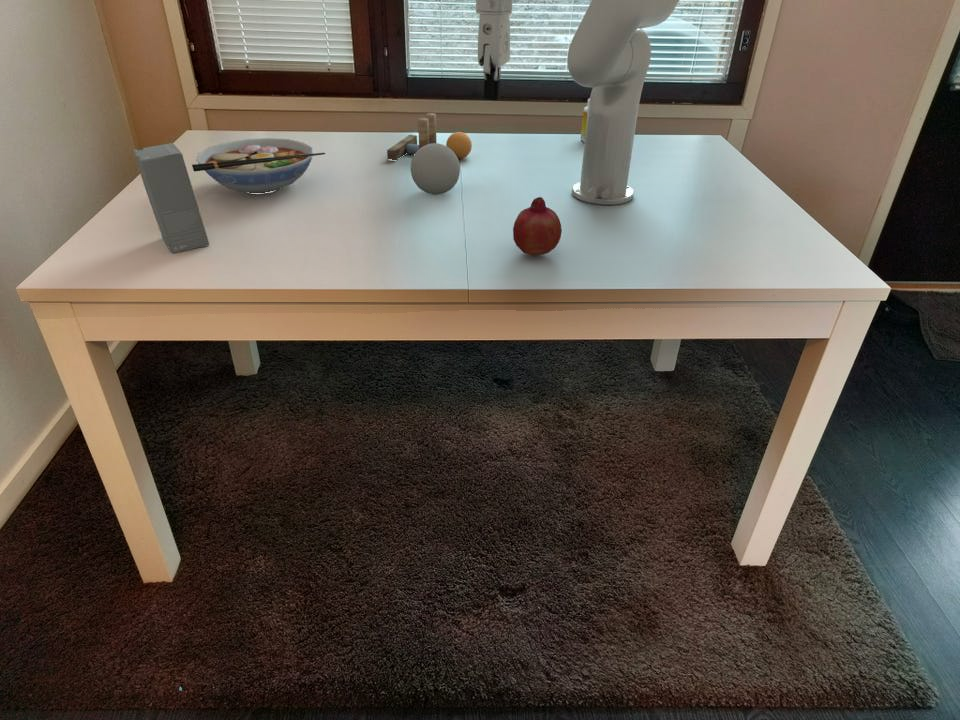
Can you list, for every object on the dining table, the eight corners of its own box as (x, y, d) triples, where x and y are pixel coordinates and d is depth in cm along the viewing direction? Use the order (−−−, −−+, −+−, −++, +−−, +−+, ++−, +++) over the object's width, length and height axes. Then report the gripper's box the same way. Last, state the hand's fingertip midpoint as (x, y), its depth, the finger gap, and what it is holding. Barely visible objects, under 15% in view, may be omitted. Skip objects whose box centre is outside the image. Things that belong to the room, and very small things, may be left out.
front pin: (441, 149, 152) (405, 145, 154) (441, 159, 153) (406, 155, 155) (444, 146, 153) (409, 142, 156) (445, 156, 155) (410, 152, 157)
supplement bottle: (593, 145, 164) (598, 103, 158) (576, 140, 167) (580, 99, 162) (606, 141, 168) (611, 99, 162) (588, 136, 171) (593, 96, 165)
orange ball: (440, 135, 149) (444, 161, 151) (465, 133, 147) (468, 160, 149) (450, 130, 154) (453, 156, 156) (473, 129, 152) (476, 155, 154)
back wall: (395, 161, 150) (395, 151, 149) (387, 160, 151) (387, 150, 149) (417, 145, 161) (416, 135, 160) (409, 144, 162) (409, 134, 161)
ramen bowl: (309, 166, 147) (304, 129, 142) (336, 198, 130) (331, 157, 125) (193, 180, 138) (183, 141, 133) (205, 216, 121) (195, 173, 116)
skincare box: (210, 246, 110) (188, 153, 101) (166, 255, 107) (139, 159, 98) (199, 229, 116) (177, 140, 107) (156, 238, 112) (130, 146, 104)
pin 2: (434, 154, 155) (433, 115, 150) (425, 153, 156) (424, 115, 151) (438, 151, 157) (437, 113, 152) (428, 151, 158) (427, 112, 153)
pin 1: (427, 160, 151) (426, 121, 146) (418, 159, 152) (416, 120, 147) (431, 157, 153) (429, 118, 148) (421, 156, 154) (420, 117, 149)
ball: (448, 182, 139) (447, 135, 133) (468, 197, 131) (468, 147, 126) (404, 189, 135) (402, 140, 129) (422, 204, 128) (420, 153, 122)
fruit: (557, 267, 105) (563, 208, 100) (508, 262, 106) (511, 204, 101) (560, 247, 112) (565, 190, 106) (514, 243, 113) (517, 187, 107)
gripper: (502, 9, 126) (499, 107, 136) (520, 2, 138) (516, 93, 148) (465, 7, 128) (465, 104, 138) (486, 1, 140) (484, 90, 150)
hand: (491, 98), depth 143 cm, fingers closed
